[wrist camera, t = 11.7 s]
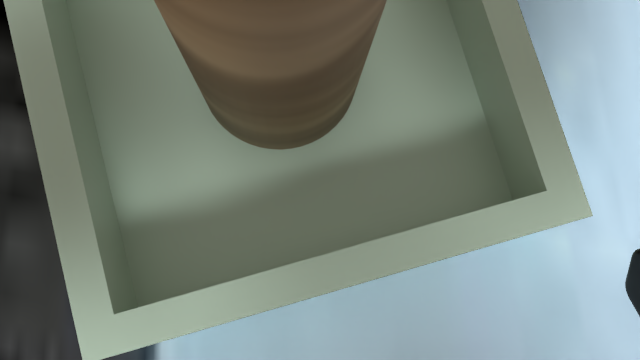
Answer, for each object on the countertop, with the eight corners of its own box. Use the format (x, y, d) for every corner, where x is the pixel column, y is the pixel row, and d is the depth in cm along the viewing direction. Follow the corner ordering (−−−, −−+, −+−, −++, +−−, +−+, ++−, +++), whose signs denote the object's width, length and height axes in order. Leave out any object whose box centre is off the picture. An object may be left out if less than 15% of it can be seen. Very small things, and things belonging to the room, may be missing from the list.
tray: (540, 226, 20) (592, 215, 16) (122, 347, 18) (83, 364, 15) (415, -144, 22) (438, -224, 18) (29, -56, 20) (-24, -123, 17)
